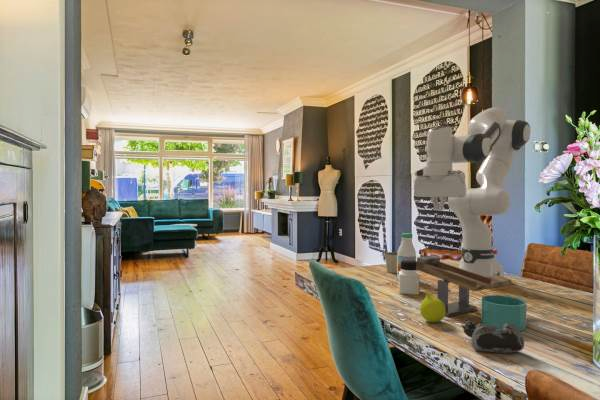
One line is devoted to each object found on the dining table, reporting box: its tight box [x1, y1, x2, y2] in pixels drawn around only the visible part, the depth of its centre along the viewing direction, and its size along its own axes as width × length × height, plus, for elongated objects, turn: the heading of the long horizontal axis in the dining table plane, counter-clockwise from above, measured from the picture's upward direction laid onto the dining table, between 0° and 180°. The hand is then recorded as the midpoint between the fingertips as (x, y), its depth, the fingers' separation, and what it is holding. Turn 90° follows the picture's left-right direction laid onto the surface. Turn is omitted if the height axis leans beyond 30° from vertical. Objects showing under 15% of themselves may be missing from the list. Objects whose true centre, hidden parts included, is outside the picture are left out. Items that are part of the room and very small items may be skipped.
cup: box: [480, 294, 527, 332], centre depth 116 cm, size 11×11×7 cm
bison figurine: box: [461, 319, 525, 354], centre depth 99 cm, size 12×7×10 cm
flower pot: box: [383, 251, 398, 274], centre depth 190 cm, size 9×9×9 cm
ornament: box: [419, 288, 446, 323], centre depth 118 cm, size 7×7×10 cm
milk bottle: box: [396, 232, 417, 282], centre depth 172 cm, size 8×8×20 cm
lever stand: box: [436, 279, 478, 318], centre depth 129 cm, size 14×7×10 cm, turn 123°
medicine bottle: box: [398, 260, 421, 295], centre depth 153 cm, size 7×7×12 cm
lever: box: [416, 255, 512, 292], centre depth 133 cm, size 19×22×5 cm
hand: (438, 210), depth 146 cm, fingers closed
